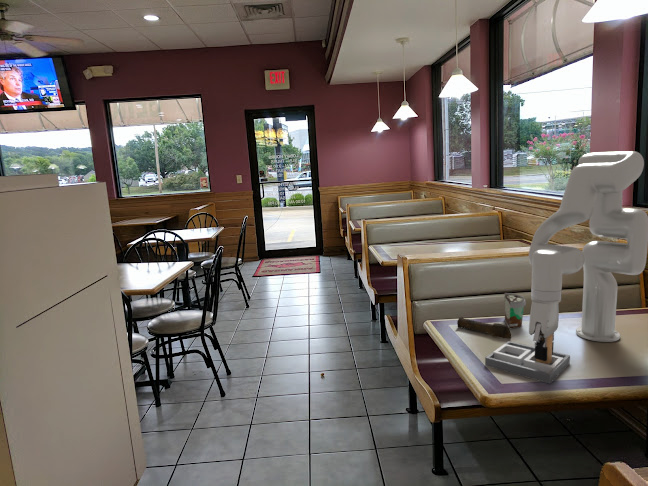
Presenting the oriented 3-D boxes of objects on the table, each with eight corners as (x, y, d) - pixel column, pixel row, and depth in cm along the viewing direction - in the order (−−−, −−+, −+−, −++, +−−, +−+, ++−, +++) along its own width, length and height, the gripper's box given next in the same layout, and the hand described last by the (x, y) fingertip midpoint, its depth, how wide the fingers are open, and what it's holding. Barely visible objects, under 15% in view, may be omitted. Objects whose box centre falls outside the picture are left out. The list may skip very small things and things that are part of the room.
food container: (528, 330, 162) (529, 302, 160) (510, 329, 163) (510, 302, 162) (521, 318, 174) (522, 292, 172) (503, 318, 175) (504, 292, 173)
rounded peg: (539, 356, 135) (540, 330, 134) (553, 360, 132) (554, 333, 131) (533, 361, 132) (534, 334, 131) (548, 365, 130) (549, 337, 128)
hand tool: (456, 329, 167) (456, 316, 166) (462, 326, 170) (462, 313, 169) (507, 342, 153) (507, 329, 153) (512, 339, 156) (513, 325, 155)
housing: (508, 348, 148) (508, 339, 147) (569, 363, 135) (570, 353, 135) (485, 365, 136) (485, 355, 136) (549, 383, 124) (550, 373, 123)
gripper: (543, 285, 137) (541, 344, 141) (520, 299, 126) (518, 363, 129) (570, 289, 132) (567, 350, 135) (549, 304, 121) (547, 370, 124)
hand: (543, 356), depth 132 cm, fingers closed on rounded peg, 3 cm apart
